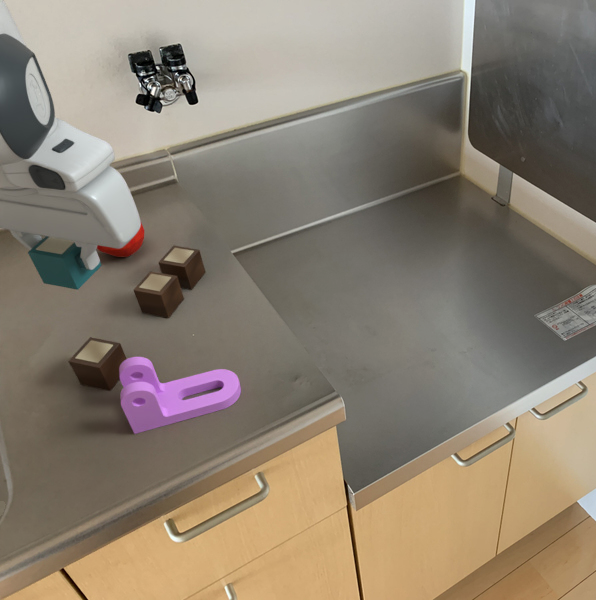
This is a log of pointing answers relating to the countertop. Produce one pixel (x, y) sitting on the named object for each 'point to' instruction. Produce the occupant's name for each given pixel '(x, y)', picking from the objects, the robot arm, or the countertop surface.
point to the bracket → (171, 394)
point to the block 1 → (98, 363)
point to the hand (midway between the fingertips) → (68, 261)
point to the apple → (126, 246)
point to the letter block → (59, 263)
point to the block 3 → (159, 294)
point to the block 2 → (183, 265)
